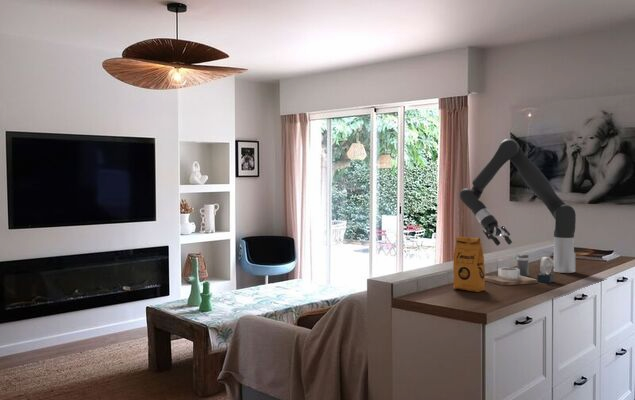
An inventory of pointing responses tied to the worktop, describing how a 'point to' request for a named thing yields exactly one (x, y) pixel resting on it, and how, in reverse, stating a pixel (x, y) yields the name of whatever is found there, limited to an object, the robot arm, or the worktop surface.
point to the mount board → (510, 282)
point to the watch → (546, 270)
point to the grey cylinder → (522, 264)
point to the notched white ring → (509, 273)
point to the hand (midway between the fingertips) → (504, 244)
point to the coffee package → (469, 264)
